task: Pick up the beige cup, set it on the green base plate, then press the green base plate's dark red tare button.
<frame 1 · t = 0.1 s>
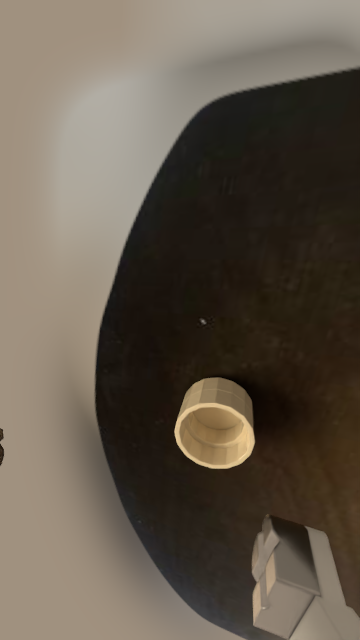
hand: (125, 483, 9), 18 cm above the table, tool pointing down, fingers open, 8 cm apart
beige cup: (218, 404, 28), on the table
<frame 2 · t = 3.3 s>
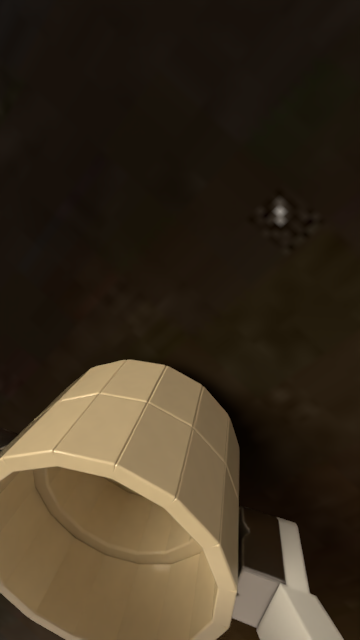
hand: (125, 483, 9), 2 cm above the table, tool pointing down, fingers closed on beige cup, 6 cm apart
beige cup: (148, 433, 11), on the table, touching gripper
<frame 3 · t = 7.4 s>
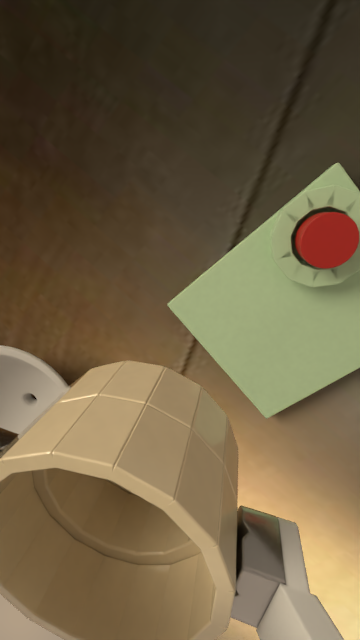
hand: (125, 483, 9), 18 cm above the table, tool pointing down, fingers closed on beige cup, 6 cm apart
green base plate: (293, 305, 23), on the table
tare button: (325, 240, 18), point 4 cm above the table, slide at 0.1 cm
dish: (37, 393, 32), on the table
beige cup: (147, 434, 11), point 15 cm above the table, touching gripper
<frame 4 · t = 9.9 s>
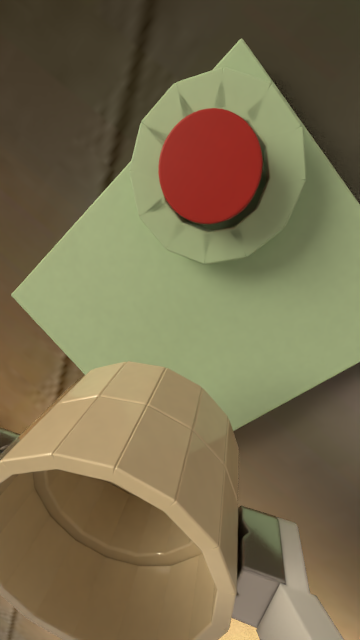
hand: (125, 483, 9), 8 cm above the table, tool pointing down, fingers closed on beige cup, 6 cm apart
green base plate: (200, 297, 15), on the table
tare button: (211, 173, 10), point 4 cm above the table, slide at 0.1 cm
beige cup: (148, 435, 11), point 6 cm above the table, touching gripper
when the fingers open (3 cm above the table, at t = 11.7 s): beige cup stays where it is, resting on green base plate.
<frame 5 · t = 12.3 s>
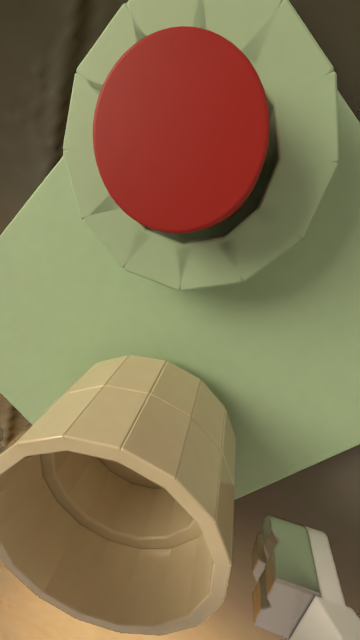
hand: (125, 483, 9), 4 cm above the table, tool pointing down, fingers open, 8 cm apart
green base plate: (182, 328, 11), on the table
tare button: (185, 150, 6), point 4 cm above the table, slide at 0.1 cm
beige cup: (149, 426, 11), point 1 cm above the table, touching green base plate
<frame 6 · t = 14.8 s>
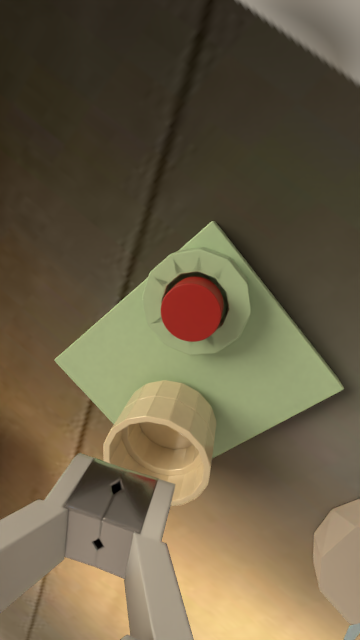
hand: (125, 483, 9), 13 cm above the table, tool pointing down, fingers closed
green base plate: (189, 364, 22), on the table
tare button: (193, 308, 16), point 4 cm above the table, slide at 0.1 cm
beige cup: (172, 416, 22), point 1 cm above the table, touching green base plate
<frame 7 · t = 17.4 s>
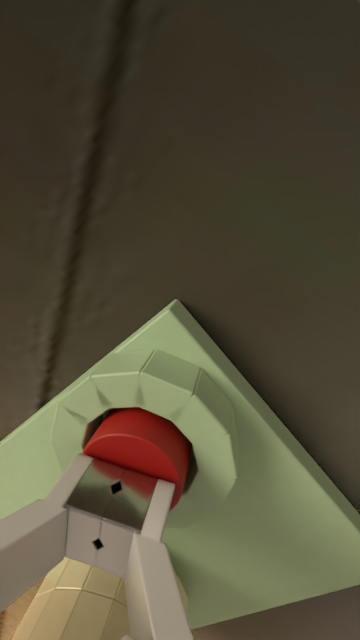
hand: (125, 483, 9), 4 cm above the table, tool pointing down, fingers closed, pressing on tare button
green base plate: (149, 496, 14), on the table
tare button: (139, 454, 10), point 3 cm above the table, slide at -0.6 cm, touching gripper
beige cup: (123, 574, 14), point 1 cm above the table, touching green base plate
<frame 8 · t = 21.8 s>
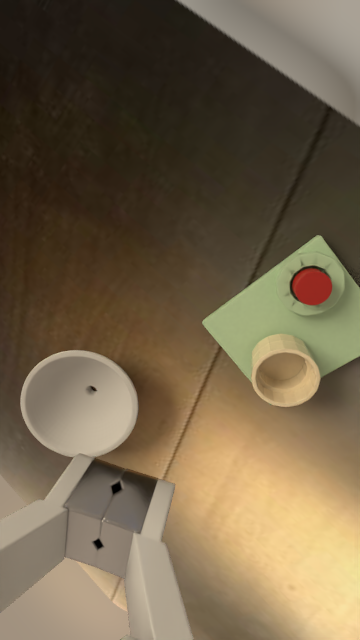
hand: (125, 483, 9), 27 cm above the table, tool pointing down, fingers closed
green base plate: (291, 325, 34), on the table
tare button: (311, 286, 28), point 4 cm above the table, slide at 0.1 cm
dish: (95, 386, 42), on the table
beige cup: (279, 358, 34), point 1 cm above the table, touching green base plate
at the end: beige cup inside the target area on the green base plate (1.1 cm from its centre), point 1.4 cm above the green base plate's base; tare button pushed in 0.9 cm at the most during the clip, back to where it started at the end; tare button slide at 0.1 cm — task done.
